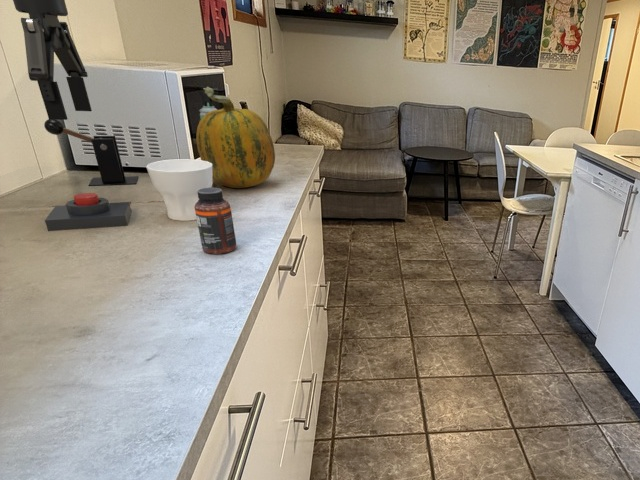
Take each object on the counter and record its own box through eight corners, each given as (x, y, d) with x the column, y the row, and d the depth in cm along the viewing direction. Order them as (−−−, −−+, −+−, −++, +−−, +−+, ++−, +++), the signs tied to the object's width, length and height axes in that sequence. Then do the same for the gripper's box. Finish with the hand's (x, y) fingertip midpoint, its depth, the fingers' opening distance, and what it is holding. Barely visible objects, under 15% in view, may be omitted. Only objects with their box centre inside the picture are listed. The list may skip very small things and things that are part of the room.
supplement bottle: (238, 242, 92) (229, 185, 87) (236, 254, 88) (227, 194, 82) (204, 244, 91) (193, 186, 85) (200, 256, 86) (188, 194, 80)
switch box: (48, 231, 91) (41, 211, 89) (58, 215, 99) (52, 197, 97) (127, 225, 97) (122, 206, 95) (131, 211, 104) (127, 193, 102)
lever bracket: (89, 189, 116) (75, 140, 111) (94, 182, 123) (81, 134, 117) (137, 187, 121) (125, 140, 115) (139, 180, 127) (128, 134, 121)
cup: (184, 204, 111) (175, 156, 106) (232, 211, 109) (224, 162, 104) (143, 219, 100) (131, 167, 95) (195, 227, 99) (185, 174, 93)
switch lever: (40, 131, 109) (44, 116, 108) (44, 129, 112) (48, 114, 111) (109, 155, 117) (113, 141, 116) (110, 152, 120) (114, 139, 119)
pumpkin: (197, 194, 119) (177, 86, 108) (212, 176, 136) (197, 81, 124) (274, 194, 124) (264, 91, 112) (280, 177, 140) (271, 85, 129)
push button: (74, 207, 94) (71, 198, 93) (77, 201, 97) (75, 193, 96) (98, 206, 95) (96, 197, 94) (101, 200, 98) (98, 192, 98)
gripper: (30, -17, 75) (70, 124, 85) (85, -3, 96) (112, 108, 106) (-29, -22, 73) (20, 122, 83) (40, -7, 94) (72, 107, 104)
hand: (71, 115), depth 94 cm, fingers open, 13 cm apart
